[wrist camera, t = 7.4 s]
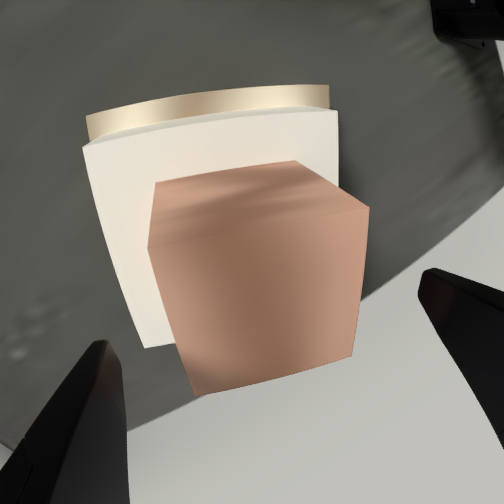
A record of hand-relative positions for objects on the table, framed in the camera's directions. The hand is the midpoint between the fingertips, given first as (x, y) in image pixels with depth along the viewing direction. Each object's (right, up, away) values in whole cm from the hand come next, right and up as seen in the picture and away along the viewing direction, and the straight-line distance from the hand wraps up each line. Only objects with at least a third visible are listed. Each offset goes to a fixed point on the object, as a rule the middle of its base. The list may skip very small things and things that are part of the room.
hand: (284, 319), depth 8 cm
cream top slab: (-3, +4, +8) cm, 10 cm away
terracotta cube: (-2, +2, +5) cm, 6 cm away
